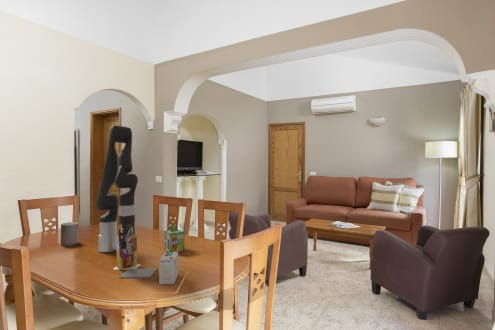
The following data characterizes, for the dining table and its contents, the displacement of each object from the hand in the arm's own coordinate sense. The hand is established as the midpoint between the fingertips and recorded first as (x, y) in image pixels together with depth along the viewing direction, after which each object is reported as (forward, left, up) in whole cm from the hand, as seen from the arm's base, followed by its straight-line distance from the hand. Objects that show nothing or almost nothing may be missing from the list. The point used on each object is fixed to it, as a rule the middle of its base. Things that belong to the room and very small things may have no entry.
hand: (127, 246), depth 150 cm
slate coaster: (+9, -9, -10) cm, 16 cm away
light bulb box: (+25, -16, -11) cm, 31 cm away
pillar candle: (-53, +42, -11) cm, 69 cm away
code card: (0, 0, -10) cm, 10 cm away
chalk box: (+17, +28, -11) cm, 34 cm away
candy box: (0, 0, -10) cm, 10 cm away
